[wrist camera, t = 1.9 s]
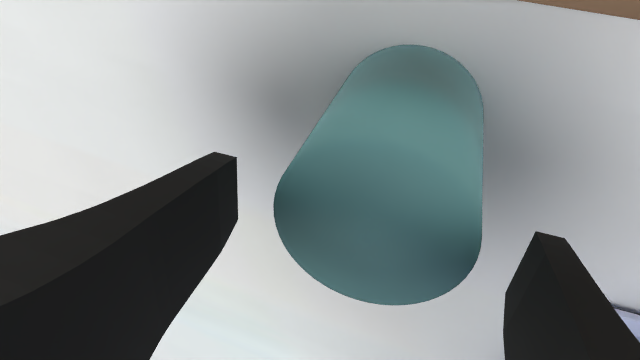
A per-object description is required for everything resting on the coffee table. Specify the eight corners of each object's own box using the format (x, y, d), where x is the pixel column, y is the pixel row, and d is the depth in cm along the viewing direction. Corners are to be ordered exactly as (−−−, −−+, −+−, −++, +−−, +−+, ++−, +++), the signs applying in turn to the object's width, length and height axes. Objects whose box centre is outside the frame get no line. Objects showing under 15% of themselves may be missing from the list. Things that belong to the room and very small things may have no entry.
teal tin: (460, 189, 17) (449, 326, 12) (332, 158, 18) (271, 274, 13) (503, 60, 14) (513, 170, 9) (348, 32, 15) (276, 116, 10)
